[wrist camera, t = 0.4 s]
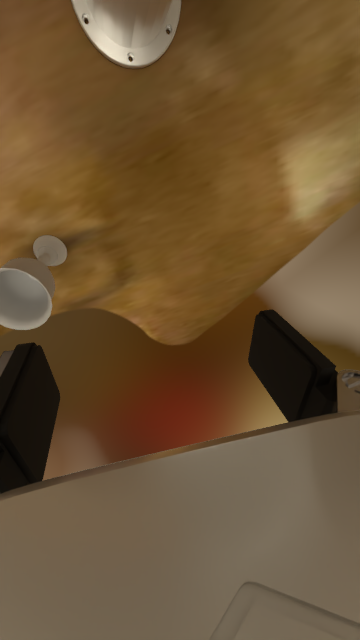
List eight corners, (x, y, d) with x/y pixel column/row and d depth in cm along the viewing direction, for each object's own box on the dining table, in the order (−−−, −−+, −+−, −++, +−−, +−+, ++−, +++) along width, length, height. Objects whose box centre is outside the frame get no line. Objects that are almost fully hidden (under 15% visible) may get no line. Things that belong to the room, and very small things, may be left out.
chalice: (77, 270, 44) (60, 325, 29) (35, 274, 42) (-6, 334, 28) (66, 226, 40) (39, 264, 25) (19, 229, 38) (-38, 271, 24)
